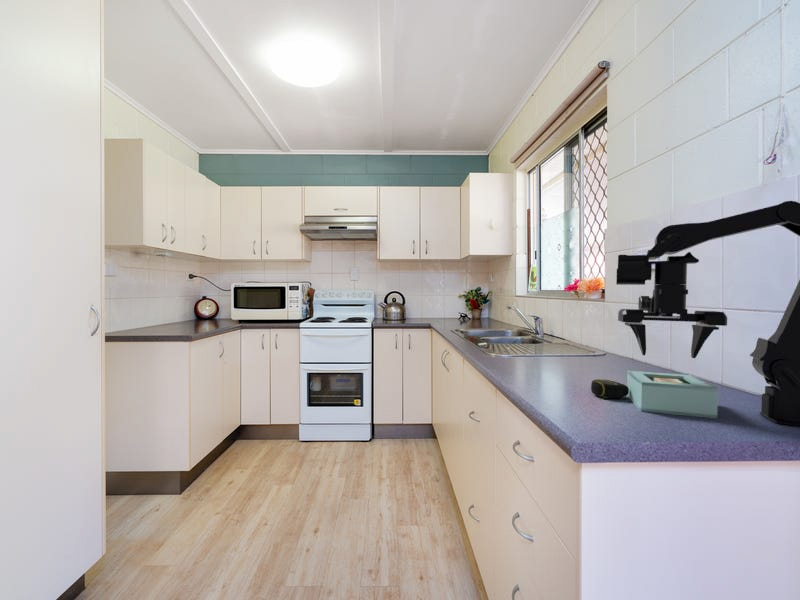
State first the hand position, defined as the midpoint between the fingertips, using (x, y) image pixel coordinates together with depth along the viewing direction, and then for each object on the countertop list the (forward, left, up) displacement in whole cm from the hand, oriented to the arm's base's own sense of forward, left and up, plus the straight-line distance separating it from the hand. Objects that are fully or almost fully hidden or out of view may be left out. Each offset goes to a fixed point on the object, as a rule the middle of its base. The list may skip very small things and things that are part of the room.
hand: (668, 356), depth 84 cm
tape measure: (+11, -5, -11) cm, 16 cm away
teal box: (0, 0, -11) cm, 11 cm away
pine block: (0, 0, -10) cm, 10 cm away
